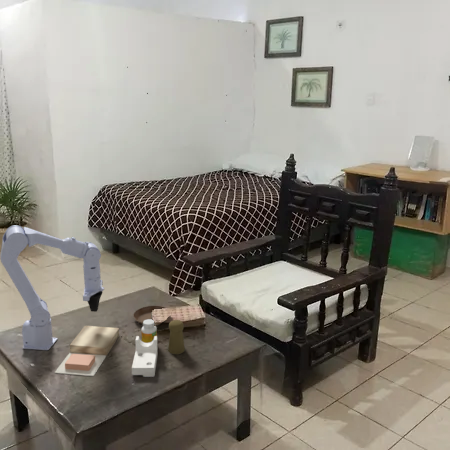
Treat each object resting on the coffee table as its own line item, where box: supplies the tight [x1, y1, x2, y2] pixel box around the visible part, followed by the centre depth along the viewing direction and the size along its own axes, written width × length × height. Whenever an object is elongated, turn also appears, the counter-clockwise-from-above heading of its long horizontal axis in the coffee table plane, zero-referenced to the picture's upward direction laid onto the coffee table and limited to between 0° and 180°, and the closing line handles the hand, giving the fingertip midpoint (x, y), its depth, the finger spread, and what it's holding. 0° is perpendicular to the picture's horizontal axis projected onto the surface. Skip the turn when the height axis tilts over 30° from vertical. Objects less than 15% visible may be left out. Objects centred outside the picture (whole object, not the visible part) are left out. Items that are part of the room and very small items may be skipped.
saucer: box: [132, 305, 166, 326], centre depth 195 cm, size 15×15×3 cm
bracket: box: [131, 335, 159, 378], centre depth 163 cm, size 13×7×8 cm, turn 3°
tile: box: [65, 353, 95, 371], centre depth 163 cm, size 8×6×2 cm
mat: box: [54, 352, 107, 377], centre depth 164 cm, size 13×12×1 cm
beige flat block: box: [69, 325, 120, 356], centre depth 176 cm, size 13×14×3 cm
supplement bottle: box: [140, 319, 158, 343], centre depth 174 cm, size 5×5×10 cm
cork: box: [167, 319, 186, 355], centre depth 172 cm, size 6×6×11 cm
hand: (94, 310), depth 181 cm, fingers closed
